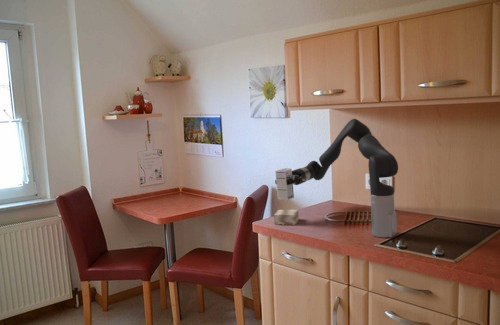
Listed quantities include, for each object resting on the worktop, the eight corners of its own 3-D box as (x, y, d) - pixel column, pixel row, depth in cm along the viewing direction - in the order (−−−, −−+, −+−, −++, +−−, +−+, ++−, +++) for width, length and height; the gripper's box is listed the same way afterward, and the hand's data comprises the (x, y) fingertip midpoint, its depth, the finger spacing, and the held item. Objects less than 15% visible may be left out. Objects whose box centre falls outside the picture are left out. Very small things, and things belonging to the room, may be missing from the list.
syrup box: (287, 200, 210) (285, 170, 207) (277, 199, 213) (275, 169, 211) (294, 198, 214) (292, 168, 212) (283, 197, 218) (281, 167, 216)
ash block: (298, 219, 218) (298, 209, 218) (295, 225, 209) (294, 215, 208) (279, 219, 221) (278, 209, 220) (274, 225, 212) (273, 215, 211)
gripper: (287, 168, 227) (268, 174, 214) (312, 169, 219) (294, 175, 205) (288, 182, 228) (269, 189, 215) (312, 184, 220) (295, 191, 207)
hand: (281, 182), depth 210 cm, fingers closed on syrup box, 6 cm apart
